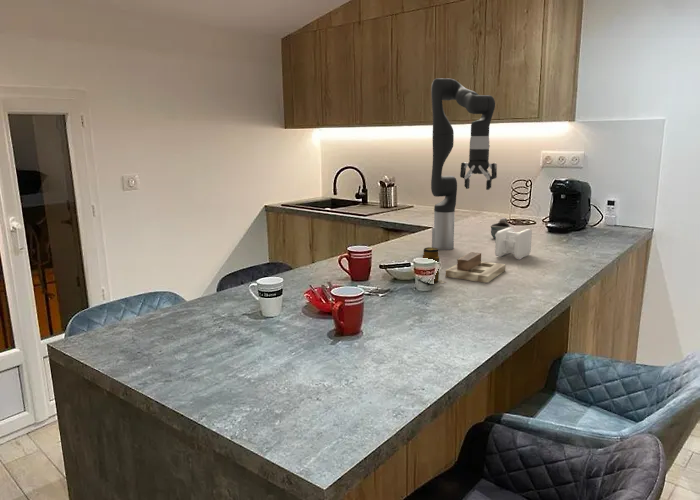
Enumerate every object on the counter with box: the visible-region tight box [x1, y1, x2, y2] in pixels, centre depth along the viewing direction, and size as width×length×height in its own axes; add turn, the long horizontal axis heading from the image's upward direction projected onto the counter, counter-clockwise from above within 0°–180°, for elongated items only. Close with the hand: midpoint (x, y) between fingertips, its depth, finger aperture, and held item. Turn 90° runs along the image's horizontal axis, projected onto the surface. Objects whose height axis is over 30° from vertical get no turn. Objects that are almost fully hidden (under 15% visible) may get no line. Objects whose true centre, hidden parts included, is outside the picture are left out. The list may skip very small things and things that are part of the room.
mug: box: [490, 217, 512, 240], centre depth 262 cm, size 10×12×10 cm
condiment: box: [422, 246, 447, 285], centre depth 189 cm, size 7×8×12 cm
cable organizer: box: [494, 227, 533, 261], centre depth 224 cm, size 15×11×12 cm
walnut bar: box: [456, 251, 482, 271], centre depth 200 cm, size 4×14×6 cm, turn 146°
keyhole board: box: [445, 260, 507, 284], centre depth 199 cm, size 16×20×2 cm
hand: (477, 189), depth 210 cm, fingers open, 8 cm apart
